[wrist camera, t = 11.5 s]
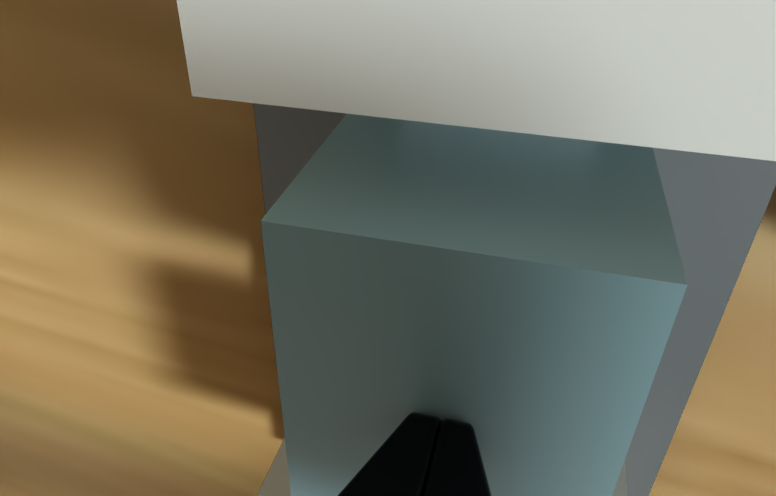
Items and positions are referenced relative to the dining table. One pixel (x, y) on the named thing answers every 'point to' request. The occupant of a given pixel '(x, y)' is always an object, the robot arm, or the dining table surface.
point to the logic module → (470, 300)
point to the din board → (530, 117)
